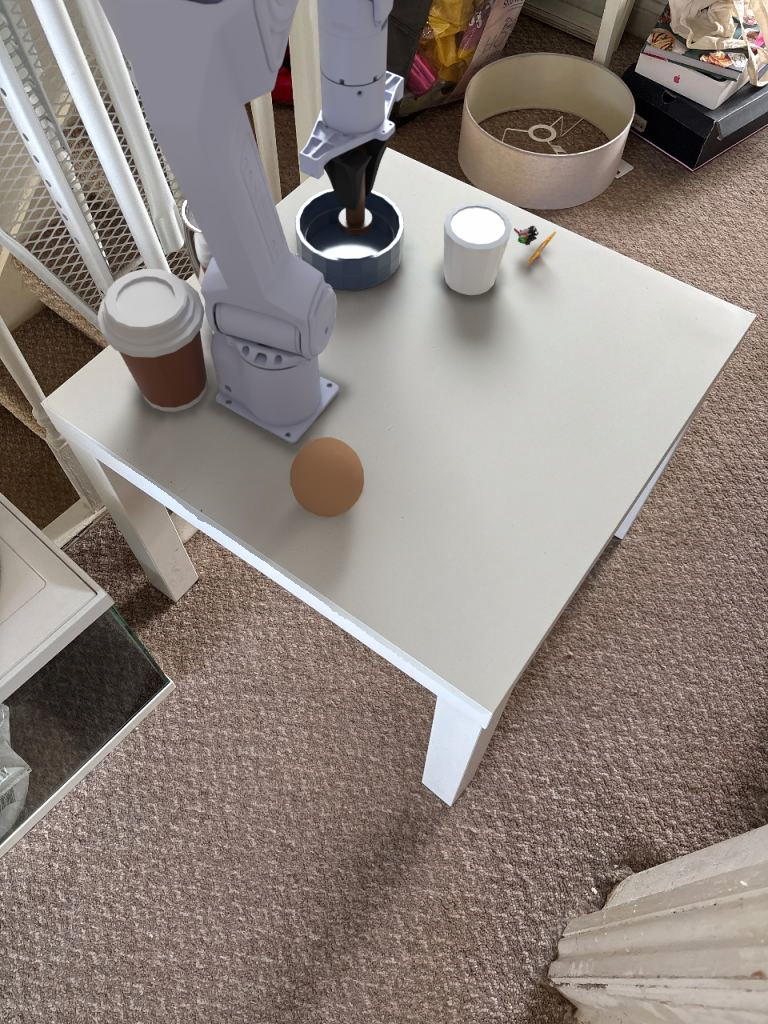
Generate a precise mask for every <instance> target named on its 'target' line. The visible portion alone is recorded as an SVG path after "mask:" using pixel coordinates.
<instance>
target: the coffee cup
mask: <svg viewBox="0 0 768 1024" xmlns="http://www.w3.org/2000/svg"><path fill="white" fill-rule="evenodd" d="M204 317H205V306H204V304H203V302H202V299H201V296H200V293H199V292H198V291H197V290H196V289H195V288H194V287H193V286H191V285H190V283H188V282H187V281H186V280H184V279H181V278H180V277H178V276H177V275H175V274H174V273H172V272H168V271H166V270H163V269H160V268H159V269H157V268H156V269H155V268H142V269H138V270H134V271H130V272H128V273H126V274H124V275H123V276H121V277H119V278H117V279H116V280H115V281H114V282H113V283H112V284H111V285H110V287H109V288H108V289H107V290H106V293H105V297H104V298H103V299H102V300H101V302H100V305H99V308H98V312H97V316H96V319H97V324H98V327H99V331H100V334H101V336H102V339H103V340H104V341H106V343H107V344H109V346H111V347H112V349H114V351H117V352H119V354H120V356H121V358H122V360H123V362H124V363H125V366H126V367H127V369H128V370H129V372H130V374H131V376H132V378H133V380H134V382H135V384H136V385H137V387H138V389H139V390H140V393H141V394H142V397H143V399H144V400H145V401H146V403H148V404H149V405H150V406H151V408H154V409H157V410H159V411H162V412H175V413H177V412H180V411H183V410H187V409H190V408H191V407H193V406H194V405H196V404H197V403H199V402H200V401H201V400H202V399H203V397H204V395H205V394H206V393H207V388H208V382H209V380H208V377H207V369H206V363H205V355H204V348H203V341H202V335H201V329H202V328H203V324H204Z"/></svg>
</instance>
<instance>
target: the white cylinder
mask: <svg viewBox="0 0 768 1024" xmlns="http://www.w3.org/2000/svg"><path fill="white" fill-rule="evenodd" d="M445 216H446V217H445V220H444V222H443V277H444V281H445V284H446V285H447V286H448V287H449V288H450V289H451V290H452V291H455V292H456V293H458V294H461V295H466V296H477V295H481V294H484V293H486V292H489V290H490V289H491V288H492V287H493V286H494V284H495V281H496V278H497V275H498V272H499V269H500V266H501V263H502V260H503V257H504V255H505V251H506V248H507V245H508V242H509V239H510V236H511V232H512V227H513V226H512V224H511V221H510V218H509V217H508V216H507V214H505V212H504V211H502V210H501V209H499V208H497V207H496V206H494V205H492V204H487V203H483V202H467V203H466V202H465V203H463V204H460V205H458V206H455V207H453V208H452V209H451V210H450V211H449V212H448V213H447V214H446V215H445Z"/></svg>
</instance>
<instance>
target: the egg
mask: <svg viewBox="0 0 768 1024" xmlns="http://www.w3.org/2000/svg"><path fill="white" fill-rule="evenodd" d="M364 471H365V470H364V466H363V464H362V460H361V459H360V457H359V455H358V453H357V452H356V451H355V450H354V449H353V448H352V447H351V446H350V445H349V444H347V443H346V442H345V441H343V440H341V439H338V438H336V437H331V436H322V437H318V438H314V439H312V440H310V441H308V442H306V443H305V444H304V445H303V446H302V447H301V448H300V449H299V451H298V452H297V453H296V454H295V455H294V457H293V460H292V462H291V465H290V470H289V483H290V485H289V486H290V489H291V492H292V495H293V496H294V499H295V500H296V501H297V503H298V504H299V505H300V506H301V507H302V509H304V510H305V511H307V513H310V514H313V515H314V516H317V517H324V518H331V517H337V516H340V515H344V514H345V513H346V512H348V511H350V510H351V509H352V508H353V507H354V506H355V505H356V504H357V502H358V501H359V500H360V498H361V495H362V493H363V490H364V485H365V473H364Z"/></svg>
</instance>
